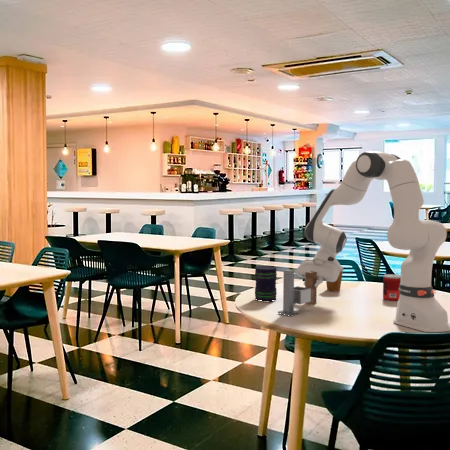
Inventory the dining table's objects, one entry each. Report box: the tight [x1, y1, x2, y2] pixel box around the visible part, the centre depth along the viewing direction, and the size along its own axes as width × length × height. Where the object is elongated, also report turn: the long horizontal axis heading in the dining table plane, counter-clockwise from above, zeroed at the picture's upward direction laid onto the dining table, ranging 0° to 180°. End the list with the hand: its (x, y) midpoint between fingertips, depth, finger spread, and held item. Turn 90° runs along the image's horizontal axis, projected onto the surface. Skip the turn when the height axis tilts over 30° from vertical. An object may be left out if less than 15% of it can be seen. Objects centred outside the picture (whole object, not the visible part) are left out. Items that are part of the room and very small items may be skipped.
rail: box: [304, 271, 318, 305], centre depth 230 cm, size 4×4×14 cm
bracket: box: [277, 268, 311, 317], centre depth 213 cm, size 14×7×18 cm, turn 136°
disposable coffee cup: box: [325, 265, 344, 292], centre depth 258 cm, size 10×10×12 cm
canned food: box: [382, 273, 401, 302], centre depth 238 cm, size 8×8×11 cm
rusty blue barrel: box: [254, 265, 277, 301], centre depth 236 cm, size 10×10×15 cm
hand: (310, 285), depth 229 cm, fingers closed on rail, 4 cm apart
